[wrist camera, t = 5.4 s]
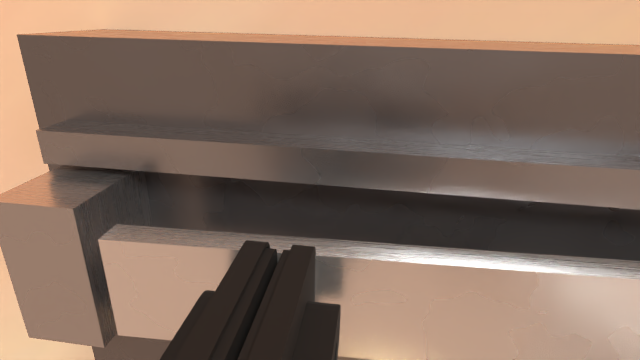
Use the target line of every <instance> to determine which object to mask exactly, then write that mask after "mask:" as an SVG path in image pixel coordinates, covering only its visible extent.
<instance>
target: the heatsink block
mask: <svg viewBox="0 0 640 360" xmlns="http://www.w3.org/2000/svg"><path fill="white" fill-rule="evenodd" d="M17 37H18V42H19V46H20V50H21V54H22V58H23V62H24V66H25V71H26V75H27V79H28V83H29V87H30V91H31V95H32V100H33V104H34V108H35V112H36V116H37V120H38V124H39V130H36V133H37V137H38V141H39V145H40V149H41V153H42V157H43V161H44V163H45V164H48V166H49V170H50V171H49V172H47V173H45V174H43V175H41V176H39V177H36V178H34V179H32V180H30V181H28V182H26V183H24V184H22V185H19V186H17V187H15V188H13V189H11V190H9V191H7V192H4V193H2V194H0V246H1V249H2V252H3V255H4V259H5V262H6V265H7V268H8V272H9V275H10V278H11V281H12V284H13V288H14V291H15V294H16V297H17V300H18V304H19V307H20V310H21V313H22V316H23V320H24V323H25V326H26V329H27V333H28V336H29V337H30V338H37V339H45V340H52V341H59V342H66V343H73V344H80V345H87V346H92V348H93V353H94V357H95V360H160V358H161V356H162V355H163V353H164V352H165V350H166V349H167V347H168V346H169V344H170V342H171V341H172V340H162V339H151V338H141V337H130V336H120V335H118V333H117V328H116V324H115V319H114V314H113V309H112V304H111V300H110V295H109V290H108V285H107V280H106V276H105V271H104V266H103V261H102V256H101V252H100V247H99V242H98V239H99V238H100V237H102V236H103V235H104V234H105V233H106V232H107V231H109V230H110V229H111V228H112V227H113V226H115V225H116V224H121V225H135V226H149V227H163V228H177V229H192V230H206V231H220V232H234V233H249V234H263V235H277V236H291V237H306V238H320V239H334V240H348V241H362V242H377V243H391V244H405V245H419V246H434V247H448V248H462V249H476V250H490V251H505V252H519V253H533V254H547V255H562V256H576V257H590V258H604V259H619V260H633V261H640V45H610V44H576V43H542V42H509V41H475V40H441V39H407V38H373V37H339V36H306V35H272V34H238V33H204V32H170V31H137V30H86V31H69V32H52V33H35V34H18V35H17ZM337 360H372V359H362V358H351V357H341V356H338V358H337Z"/></svg>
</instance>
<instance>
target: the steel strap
mask: <svg viewBox="0 0 640 360" xmlns="http://www.w3.org/2000/svg"><path fill="white" fill-rule="evenodd" d="M246 240H249V241H260V242H268V243H269V245H270V248H272V249H276V250H277V263H278V261H279V259H280V256H281V254H282V252H283V250H290V249H291V247H292V245H304V246H315V249H316V255H315V302H321V303H330V304H339V305H341V315H340V335H339V348H338V356H341V357H351V358H362V359H372V360H640V261H633V260H619V259H604V258H590V257H576V256H562V255H547V254H533V253H519V252H505V251H490V250H476V249H462V248H448V247H434V246H419V245H405V244H391V243H377V242H362V241H348V240H334V239H320V238H306V237H291V236H277V235H263V234H249V233H234V232H220V231H206V230H192V229H177V228H163V227H149V226H135V225H121V224H116V225H115V226H113V227H112V228H111V229H110V230H109V231H107V232H106V233H105V234H104V235H103V236H102V237H100V238H99V239H98V242H99V247H100V252H101V256H102V261H103V266H104V271H105V276H106V280H107V285H108V290H109V295H110V300H111V304H112V309H113V314H114V319H115V324H116V328H117V333H118V335H120V336H130V337H141V338H151V339H162V340H172V339H173V338H174V336H175V335H176V333H177V331H178V330H179V328H180V327H181V325H182V324H183V322H184V320H185V319H186V317H187V316H188V314H189V313H190V311H191V309H192V308H193V306H194V305H195V303H196V302H197V300H198V299H199V297H200V296H201V294H202V293H203V292H204V291H206V290H210V291H216V289H217V287H218V286H219V284H220V282H221V280H222V279H223V277H224V275H225V274H226V272H227V270H228V269H229V267H230V265H231V264H232V262H233V260H234V259H235V257H236V255H237V254H238V252H239V250H240V249H241V247H242V245H243V244H244V242H245V241H246Z"/></svg>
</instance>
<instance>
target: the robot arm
mask: <svg viewBox="0 0 640 360" xmlns="http://www.w3.org/2000/svg"><path fill="white" fill-rule="evenodd" d="M315 255H316V249H315V246H304V245H292V247H291V249H290V250H283V252H282V254H281V256H280V259H279V261H278V263H277V250H276V249H272V248H270V245H269V243H268V242H260V241H249V240H246V241H245V242H244V244H243V245H242V247H241V249H240V250H239V252H238V254H237V255H236V257H235V259H234V260H233V262H232V264H231V265H230V267H229V269H228V270H227V272H226V274H225V275H224V277H223V279H222V280H221V282H220V284H219V286H218V287H217V289H216V291H210V290H206V291H204V292H203V293H202V294H201V296H200V297H199V299H198V300H197V302H196V303H195V305H194V306H193V308H192V309H191V311H190V313H189V314H188V316H187V317H186V319H185V320H184V322H183V324H182V325H181V327H180V328H179V330H178V331H177V333H176V335H175V336H174V338H173V339H172V341H171V342H170V344H169V346H168V347H167V349H166V350H165V352H164V353H163V355H162V356H161V358H160V360H337V358H338V348H339V335H340V315H341V305H339V304H330V303H321V302H315Z"/></svg>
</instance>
